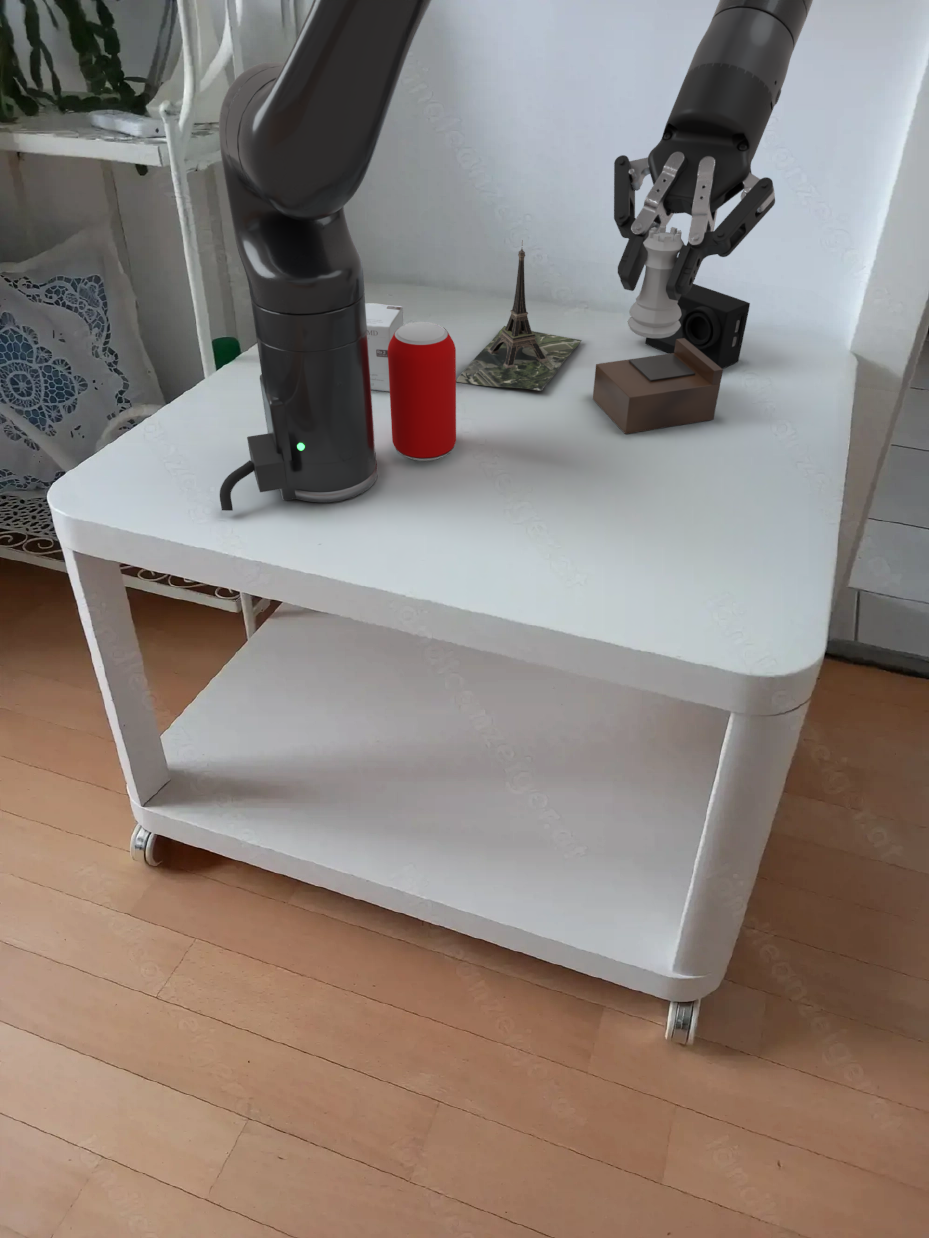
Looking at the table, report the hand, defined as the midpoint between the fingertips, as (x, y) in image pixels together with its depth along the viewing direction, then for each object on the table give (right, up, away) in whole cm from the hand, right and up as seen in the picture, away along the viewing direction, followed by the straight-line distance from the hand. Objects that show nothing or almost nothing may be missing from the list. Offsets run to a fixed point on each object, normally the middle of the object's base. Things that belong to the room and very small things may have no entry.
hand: (649, 289), depth 75 cm
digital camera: (+11, +4, +33) cm, 35 cm away
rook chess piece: (+1, -2, +4) cm, 5 cm away
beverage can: (-19, -10, +16) cm, 27 cm away
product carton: (-25, 0, +28) cm, 38 cm away
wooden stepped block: (+5, -5, +23) cm, 24 cm away
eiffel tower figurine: (-8, +3, +31) cm, 33 cm away
